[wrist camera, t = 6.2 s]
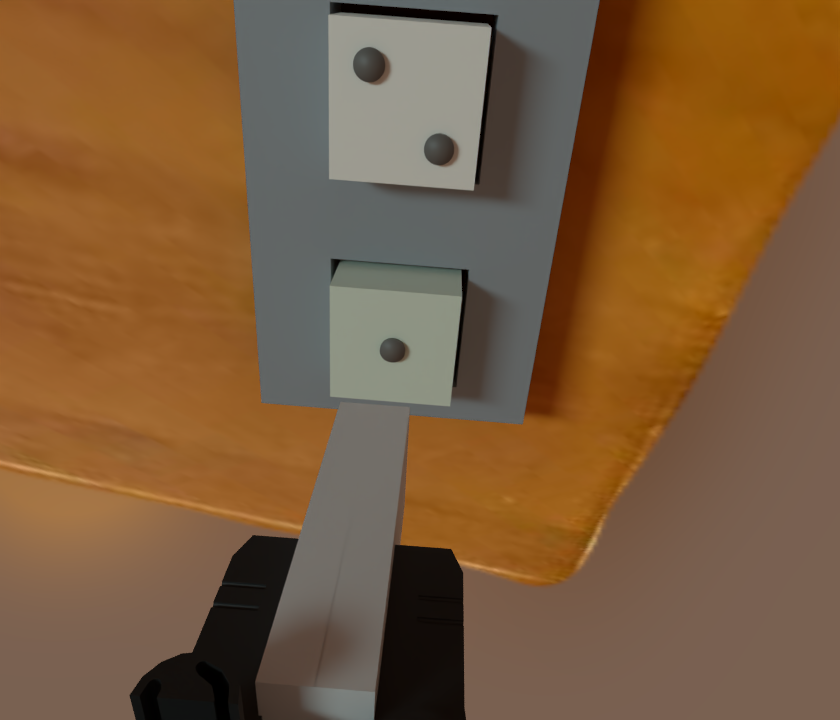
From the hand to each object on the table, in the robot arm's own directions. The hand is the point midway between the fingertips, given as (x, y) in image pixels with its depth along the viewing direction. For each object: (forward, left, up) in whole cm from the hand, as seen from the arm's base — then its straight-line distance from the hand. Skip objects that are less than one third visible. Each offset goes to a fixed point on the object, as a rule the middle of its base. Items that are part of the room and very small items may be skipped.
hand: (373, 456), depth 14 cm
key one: (0, -3, -14) cm, 14 cm away
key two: (0, +6, -14) cm, 15 cm away
